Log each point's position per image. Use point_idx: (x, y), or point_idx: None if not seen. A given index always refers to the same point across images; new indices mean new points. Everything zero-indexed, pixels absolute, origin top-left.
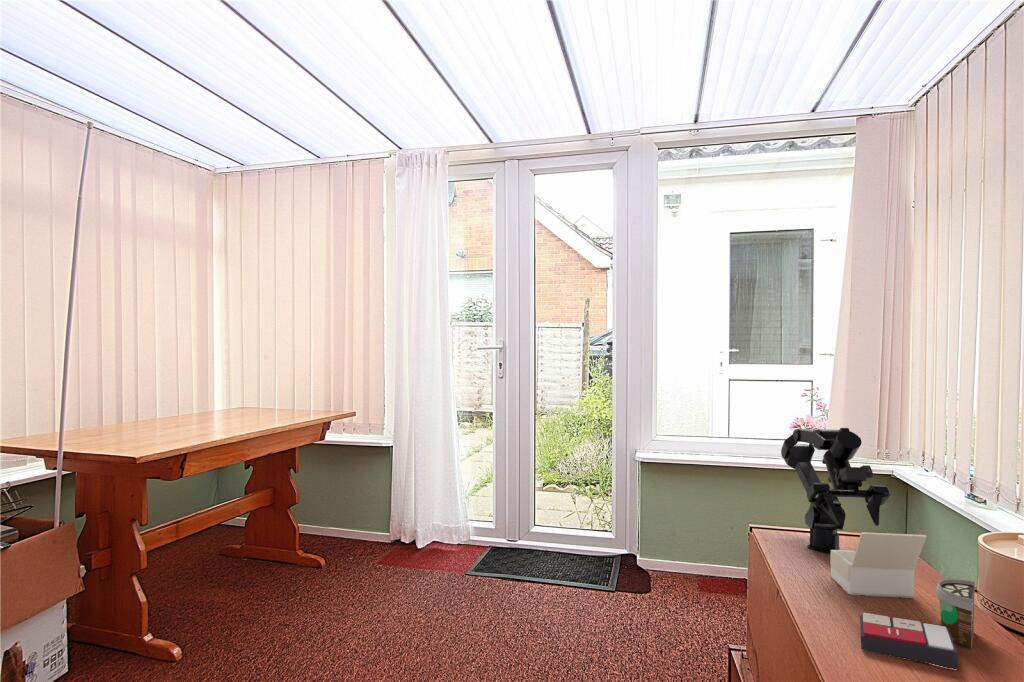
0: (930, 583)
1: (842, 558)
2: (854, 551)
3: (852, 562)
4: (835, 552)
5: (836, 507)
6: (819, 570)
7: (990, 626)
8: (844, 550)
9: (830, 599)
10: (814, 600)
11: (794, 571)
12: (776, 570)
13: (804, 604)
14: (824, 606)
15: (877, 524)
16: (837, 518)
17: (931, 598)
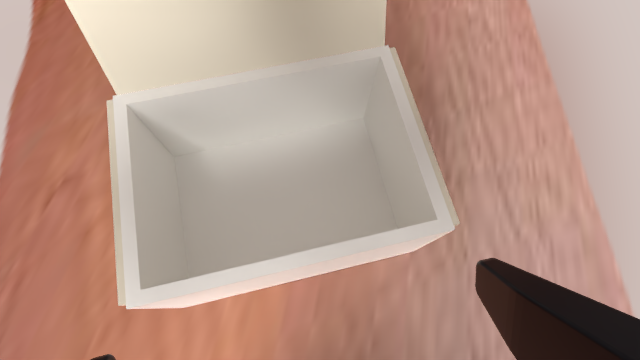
0: (18, 344)
1: (412, 111)
2: (336, 248)
3: (383, 26)
4: (437, 190)
5: None
6: (452, 333)
7: (38, 26)
8: (388, 245)
9: (427, 63)
10: (471, 42)
11: (546, 278)
12: (611, 262)
13: (496, 11)
14: (446, 14)
15: (110, 356)
16: (520, 270)
17: (103, 174)
